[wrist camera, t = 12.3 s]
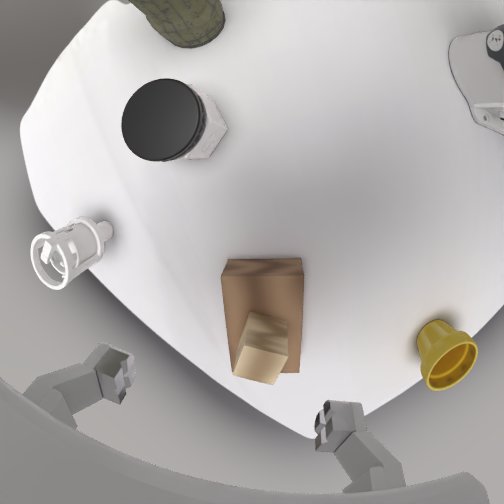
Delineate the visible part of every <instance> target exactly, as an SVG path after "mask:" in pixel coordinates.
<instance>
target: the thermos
mask: <svg viewBox="0 0 504 504" xmlns="http://www.w3.org/2000/svg"><path fill="white" fill-rule="evenodd" d="M129 1H130V2H131V3H132V4H133V5H134V6H136V7H137V8H138V9H139V10H140V11H141V12H142V13H144V14H145V15H146V18H147V20H148V21H149V23H150V24H151V26H152V27H153V28H154V29H155V30H156V31H157V32H158V33H159V34H160V35H162V36H163V37H164V38H166V39H167V40H168V41H170V42H171V43H173V44H174V45H175V46H178V47H181V48H195V47H199V46H203V45H205V44H207V43H209V42H211V41H212V40H213V39H214V38H216V37H217V36H218V35H219V34H220V32H221V31H222V29H223V27H224V23H225V16H224V12H223V9H222V4H221V2H220V0H129Z"/></svg>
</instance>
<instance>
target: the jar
mask: <svg viewBox="0 0 504 504" xmlns="http://www.w3.org/2000/svg"><path fill="white" fill-rule="evenodd" d="M121 125H122V134H123V138H124V140H125V143H126V144H127V146H128V147H129V149H130V150H131V151H132V152H133V153H134V154H135V155H137V156H138V157H140V158H142V159H145V160H148V161H162V162H165V161H171V160H175V159H181V160H187V159H201V158H209V157H210V155H211V153H212V152H213V150H214V149H215V147H216V146H217V144H218V143H219V142H220V140H221V139H222V137H223V136H224V134H225V133H226V131H227V130H228V129H227V126H226V125H225V123H224V121H223V119H222V117H221V115H220V113H219V111H218V109H217V107H216V105H215V103H214V101H213V100H212V99H211V98H209V97H208V96H207V95H206V94H204V93H203V92H202V91H201V90H199V89H198V88H197V87H196V86H194V85H192V84H190V85H186V84H184V83H183V82H181V81H178V80H175V79H158V80H154V81H151V82H149V83H147V84H145V85H143V86H142V87H141V88H139V89H138V90H137V91H136V92H135V93H134V94H133V95H132V96H131V98H130V99H129V101H128V103H127V104H126V107H125V109H124V112H123V116H122V124H121Z"/></svg>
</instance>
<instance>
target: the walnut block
mask: <svg viewBox="0 0 504 504" xmlns="http://www.w3.org/2000/svg"><path fill="white" fill-rule="evenodd" d="M221 284H222V293H223V302H224V311H225V320H226V328H227V336H228V344H229V352H230V360H231V368H232V372H233V370H234V366H235V361H236V356H237V351H238V346H239V341H240V338H241V335H242V332H243V329H244V326H245V324H246V321H247V318H248V315H249V313H250V311H252V312H256V313H259V314H262V315H266V316H269V317H273V318H277V319H280V320H284V321H287V330H288V359H287V360H286V362H285V364H284V366H283V368H282V370H281V372H280V373H299V368H300V353H301V337H302V318H303V293H304V273H303V268H302V263H301V258H290V259H231V260H228V261H227V264H226V266H225V268H224V270H223V273H222V275H221Z"/></svg>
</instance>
